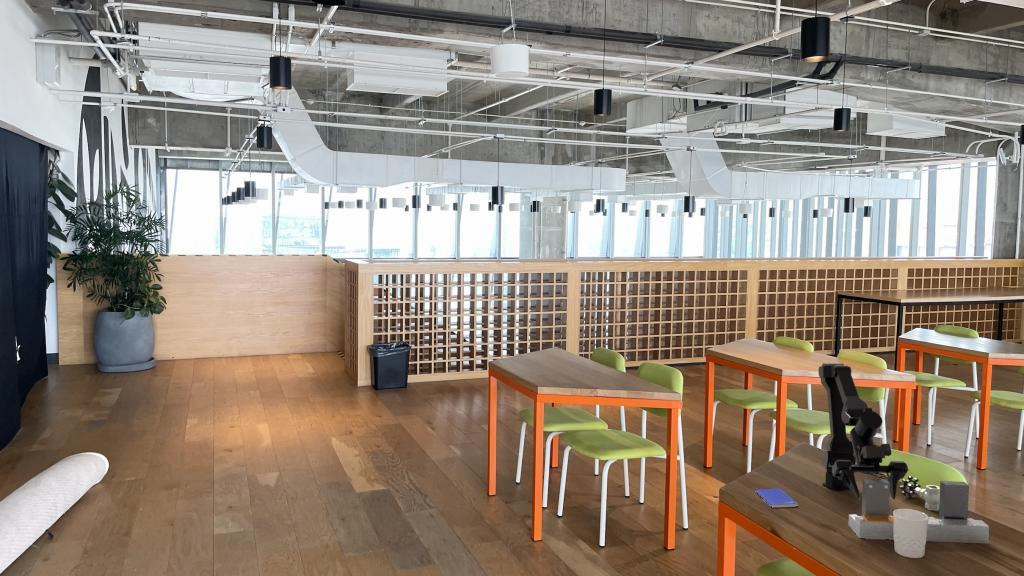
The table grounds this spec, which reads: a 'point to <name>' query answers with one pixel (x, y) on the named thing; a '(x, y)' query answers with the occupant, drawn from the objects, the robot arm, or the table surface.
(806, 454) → the table surface
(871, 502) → the grey rectangular block
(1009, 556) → the table surface
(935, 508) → the valve
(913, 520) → the white cup
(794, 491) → the table surface
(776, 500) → the hard drive
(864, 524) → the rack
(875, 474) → the composite cable
